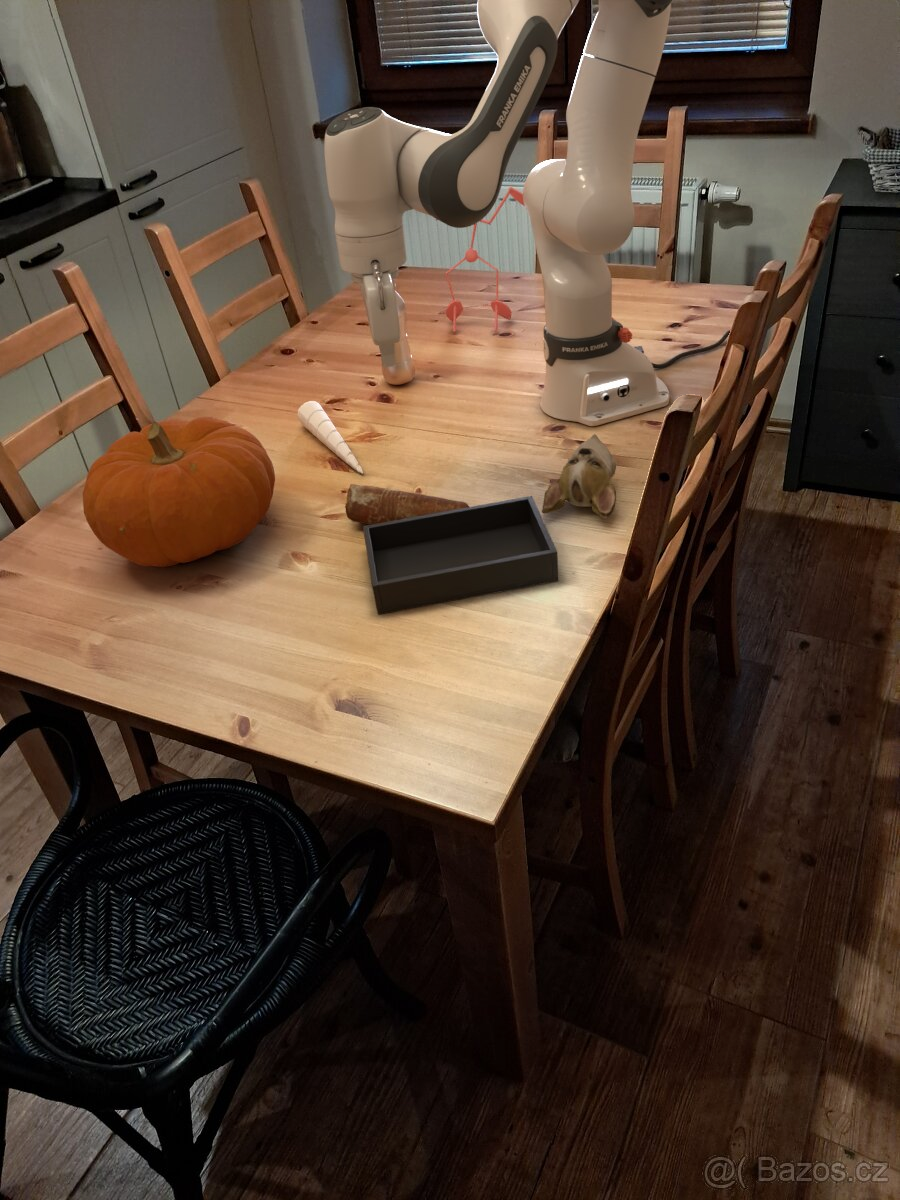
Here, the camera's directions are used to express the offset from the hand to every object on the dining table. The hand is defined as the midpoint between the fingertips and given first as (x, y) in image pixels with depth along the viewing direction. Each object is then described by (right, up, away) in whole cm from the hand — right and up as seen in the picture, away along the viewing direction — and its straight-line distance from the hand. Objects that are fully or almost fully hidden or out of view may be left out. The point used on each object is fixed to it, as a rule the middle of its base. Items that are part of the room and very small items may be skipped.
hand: (385, 351), depth 127 cm
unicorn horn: (-11, -8, +32) cm, 35 cm away
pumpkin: (-30, -25, +13) cm, 42 cm away
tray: (+10, -30, 0) cm, 32 cm away
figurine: (+16, +26, +70) cm, 77 cm away
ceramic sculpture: (+29, -20, +9) cm, 37 cm away
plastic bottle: (-1, +8, +50) cm, 51 cm away
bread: (+3, -23, +11) cm, 25 cm away
